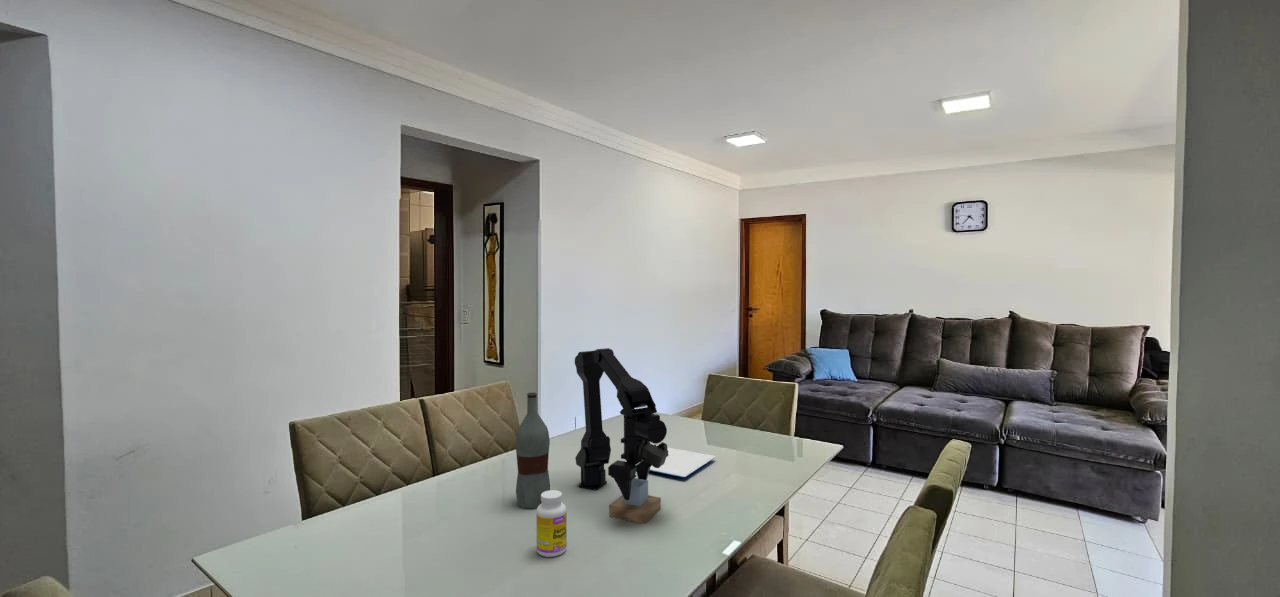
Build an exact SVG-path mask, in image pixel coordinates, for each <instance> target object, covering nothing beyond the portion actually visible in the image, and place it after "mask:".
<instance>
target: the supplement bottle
mask: <svg viewBox="0 0 1280 597" xmlns="http://www.w3.org/2000/svg"><path fill="white" fill-rule="evenodd" d="M562 500H563V492H561V491H559V490H555V489H550V490H549V491H545V492H543V493H542V494H541V502H542V504H540V505H539V506H538V508H536V511H535V512H536V513H535V514H536V551H537V552H536V553H537V554H539V555H540V556H542V557H546V558H553V557H554V558H555V557H558V556H560V555H562V554H564V553H565V551H567V544H568V543H567V542H568V541H567V535H568V534H567V531H568V530H567V528H568V527H567V507H566V504H564V503H563V502H562Z"/></svg>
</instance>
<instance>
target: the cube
mask: <svg viewBox="0 0 1280 597" xmlns="http://www.w3.org/2000/svg"><path fill="white" fill-rule="evenodd" d="M648 495H649V480H648V479H647V480H642V479H638V478H636V477H635V478H634V479H633V480H632V482H631V492H630V499H629V500H625V499H624V497H623V495H622V494H621V496H622V503H625V504H630V505H635V506H641V505H642V504H643V503H644V502H646V501H647V500H648Z"/></svg>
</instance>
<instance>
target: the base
mask: <svg viewBox="0 0 1280 597" xmlns="http://www.w3.org/2000/svg"><path fill="white" fill-rule="evenodd" d="M661 501H662V499H661V497H660V496H654V495H649V494H648V500H647V501H646V502H644V503H643V504H642V505H641V506H635V505H630V504H625V503H622V495H620V496H619V497H617V499H615V500H614V501H612V502H611V503H610V504H609V505H608V512H609V513H608V517H609V516H611V517H610V518H613V517H615V519H618V518H620V520H623V519H625V520H624V521H628V520H630V521H629V522H633V521H635V522H634V523H638V522H640V523H639V524H642V523H644V524H643V525H645V524H646V523H648V521H649V520H650V519H652V518H653V515H654V514H655V513H656V514H657V513H658V512H660V510H661V509H662V508H661V507H662V504H661V503H662V502H661ZM654 516H655V515H654Z"/></svg>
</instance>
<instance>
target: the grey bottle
mask: <svg viewBox="0 0 1280 597" xmlns="http://www.w3.org/2000/svg"><path fill="white" fill-rule="evenodd" d="M537 395H538V393H537V392H535V391H534V392H527V393H526V396H527V397H526V398H527V406H526V409H527V412H526V415H525V416H524V418H523V420H522V422H521V423H520V424H519V427H518V428H517V431H516V435H515V442H514V443H515V452H516V453H515V454H516V464H517V476H516V477H517V478H516V484H515V495H516V496H515V497H516V501H517V504H518V506H519V507H520V506H521V507H520V508H522V507H523V508H522V509H526V508H535V509H537V508H538V506H539V505H540V504H542V502H541V494H542V493H543V492H545V491H549V490H551V481H550V474H549V467H548V466H549V454H550V444H551V443H550V434H549V429H548V426H547V425H546V424H545V422H544V421H543V419H542V417H541V416H540V414H539V413H538V396H537Z"/></svg>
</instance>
